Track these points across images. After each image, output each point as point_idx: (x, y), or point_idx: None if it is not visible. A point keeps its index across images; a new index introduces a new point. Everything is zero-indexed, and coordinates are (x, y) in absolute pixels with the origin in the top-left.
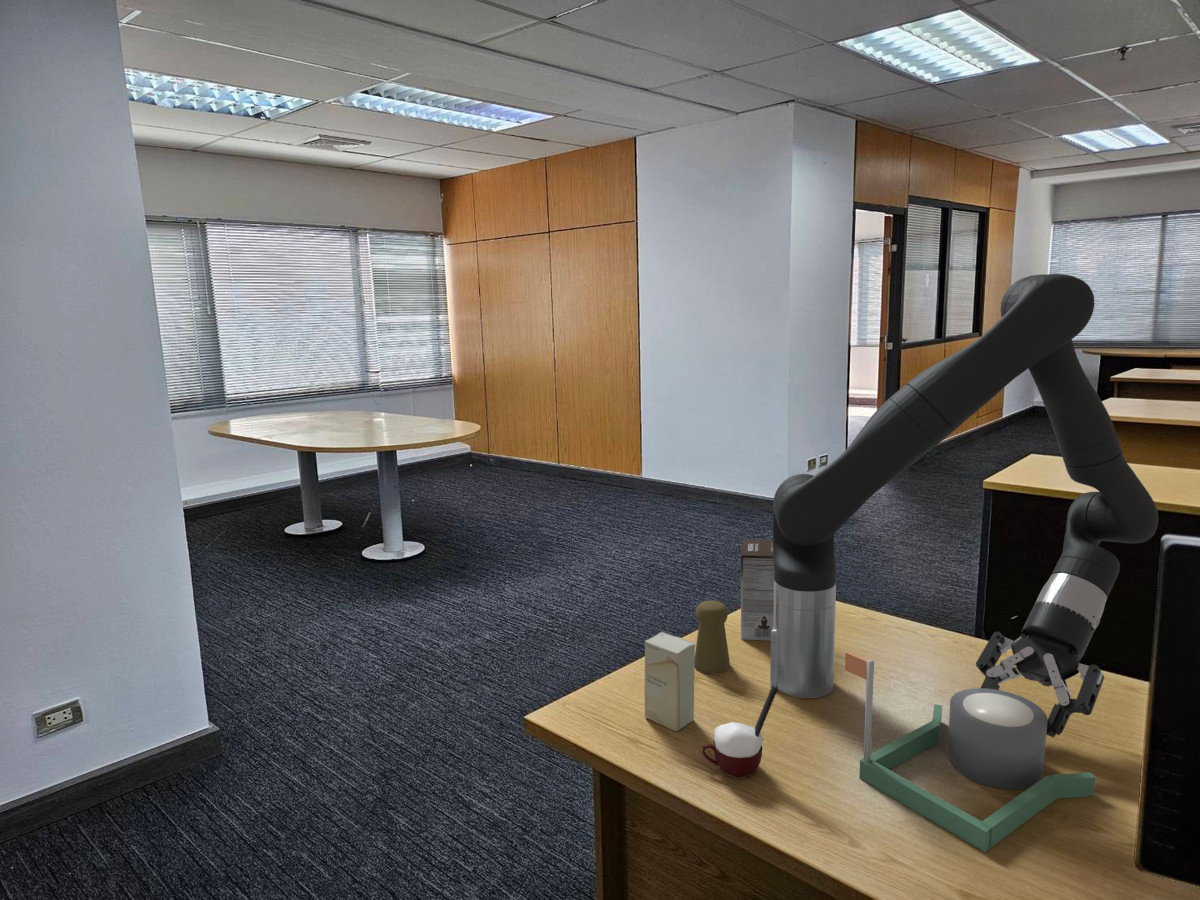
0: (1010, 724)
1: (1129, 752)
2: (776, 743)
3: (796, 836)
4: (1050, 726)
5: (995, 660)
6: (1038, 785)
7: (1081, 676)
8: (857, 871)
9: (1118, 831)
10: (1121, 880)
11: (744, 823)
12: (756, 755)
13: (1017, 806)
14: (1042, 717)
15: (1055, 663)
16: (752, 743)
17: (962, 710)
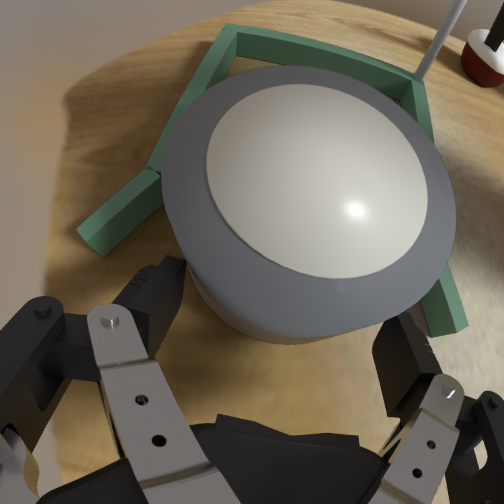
0: (259, 99)
1: (62, 467)
2: (499, 126)
3: (376, 18)
4: (164, 259)
5: (459, 485)
6: None
7: (20, 452)
8: (313, 3)
9: (65, 171)
10: (80, 89)
11: (411, 22)
12: (468, 46)
13: (200, 69)
14: (180, 199)
15: (143, 486)
16: (474, 31)
17: (390, 116)
